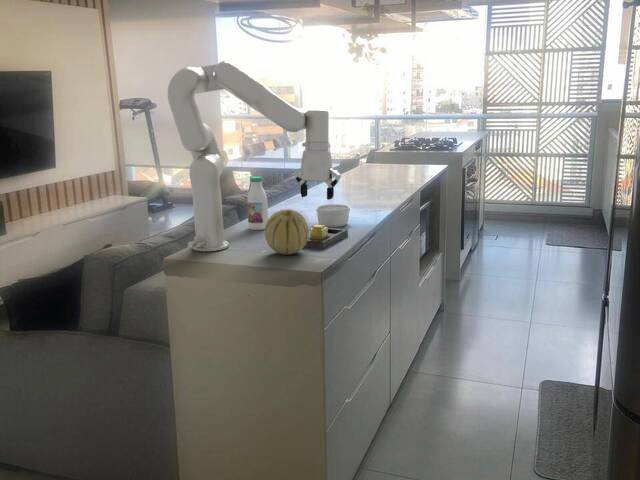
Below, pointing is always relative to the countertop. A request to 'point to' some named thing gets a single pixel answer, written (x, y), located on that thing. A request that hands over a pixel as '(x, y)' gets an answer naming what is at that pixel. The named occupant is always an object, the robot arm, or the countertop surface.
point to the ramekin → (333, 215)
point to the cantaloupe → (286, 232)
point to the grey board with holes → (328, 239)
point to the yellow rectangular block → (319, 232)
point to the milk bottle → (257, 205)
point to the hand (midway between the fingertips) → (316, 197)
